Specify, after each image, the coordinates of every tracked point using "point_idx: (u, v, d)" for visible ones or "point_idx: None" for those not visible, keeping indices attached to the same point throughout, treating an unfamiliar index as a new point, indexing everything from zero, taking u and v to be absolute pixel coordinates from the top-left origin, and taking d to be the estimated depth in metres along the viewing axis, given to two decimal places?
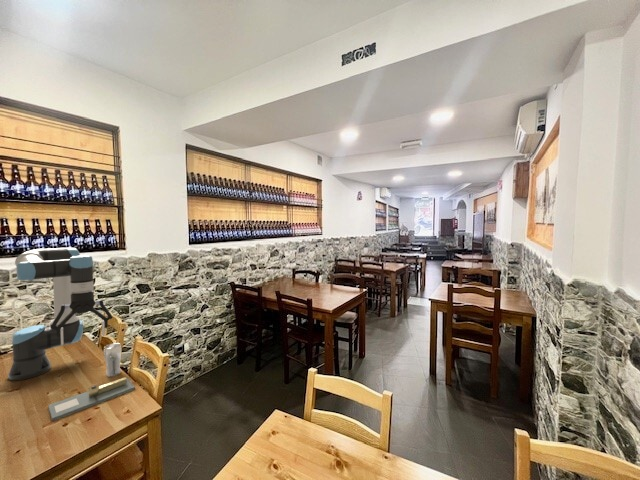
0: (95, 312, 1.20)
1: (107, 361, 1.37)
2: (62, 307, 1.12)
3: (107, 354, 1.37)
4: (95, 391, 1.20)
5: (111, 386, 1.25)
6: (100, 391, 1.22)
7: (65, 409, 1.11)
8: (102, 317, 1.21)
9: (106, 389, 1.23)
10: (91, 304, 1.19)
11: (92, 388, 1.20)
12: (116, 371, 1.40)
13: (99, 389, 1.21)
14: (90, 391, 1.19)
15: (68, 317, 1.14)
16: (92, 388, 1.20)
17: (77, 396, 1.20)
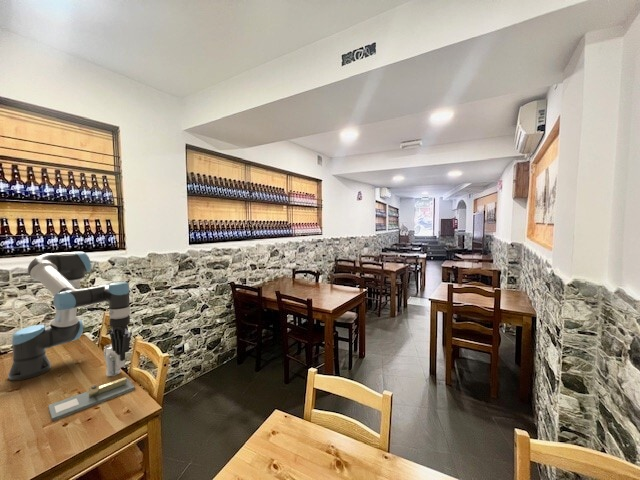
0: (119, 341, 1.22)
1: (107, 361, 1.37)
2: (109, 332, 1.24)
3: (107, 354, 1.37)
4: (95, 391, 1.20)
5: (111, 386, 1.25)
6: (100, 391, 1.22)
7: (65, 409, 1.11)
8: (119, 349, 1.22)
9: (106, 389, 1.23)
10: (121, 330, 1.21)
11: (92, 388, 1.20)
12: (116, 371, 1.40)
13: (99, 389, 1.21)
14: (90, 391, 1.19)
15: (115, 341, 1.23)
16: (92, 388, 1.20)
17: (77, 396, 1.20)
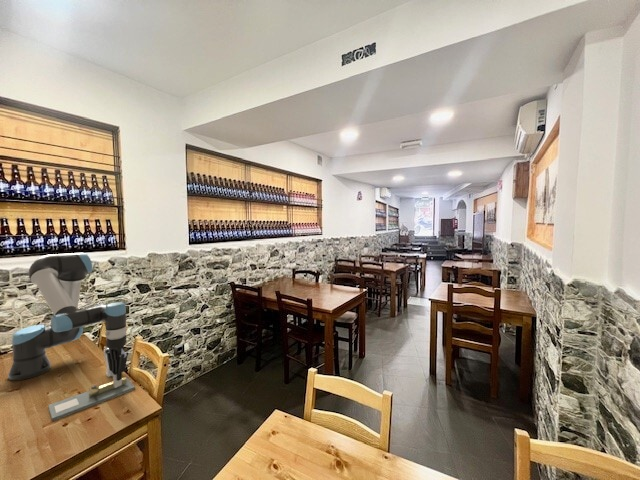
0: (115, 361, 1.24)
1: (107, 361, 1.37)
2: (106, 351, 1.26)
3: None
4: (95, 391, 1.20)
5: (111, 386, 1.25)
6: (100, 391, 1.22)
7: (65, 409, 1.11)
8: (116, 369, 1.24)
9: (106, 389, 1.23)
10: (117, 351, 1.23)
11: (92, 388, 1.20)
12: None
13: (99, 389, 1.21)
14: (90, 391, 1.19)
15: (112, 361, 1.25)
16: (92, 388, 1.20)
17: (77, 396, 1.20)
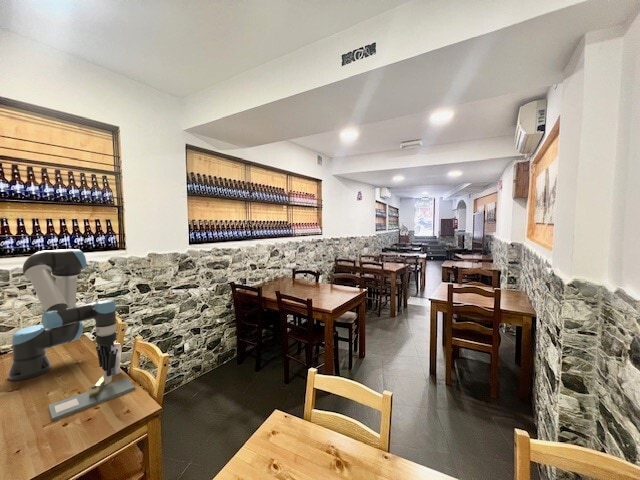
0: (105, 357, 1.26)
1: None
2: (96, 348, 1.29)
3: None
4: (98, 389, 1.21)
5: (103, 383, 1.27)
6: (99, 389, 1.23)
7: (65, 409, 1.11)
8: (105, 365, 1.26)
9: (101, 387, 1.25)
10: (107, 347, 1.26)
11: (95, 387, 1.20)
12: (116, 371, 1.40)
13: (98, 387, 1.23)
14: (95, 390, 1.20)
15: (102, 357, 1.27)
16: (95, 387, 1.20)
17: (77, 396, 1.20)
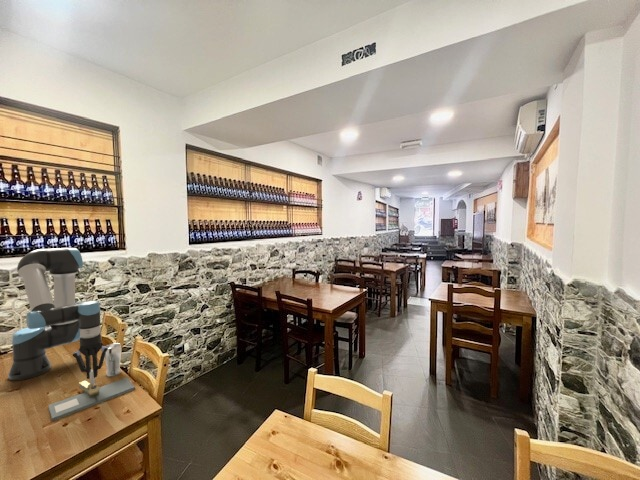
0: (94, 358, 1.25)
1: (107, 361, 1.37)
2: (74, 355, 1.22)
3: (107, 354, 1.37)
4: None
5: None
6: None
7: (65, 409, 1.11)
8: (94, 366, 1.25)
9: None
10: (97, 347, 1.26)
11: (96, 387, 1.21)
12: (116, 371, 1.40)
13: None
14: (98, 388, 1.21)
15: (87, 361, 1.24)
16: (96, 386, 1.21)
17: (77, 396, 1.20)
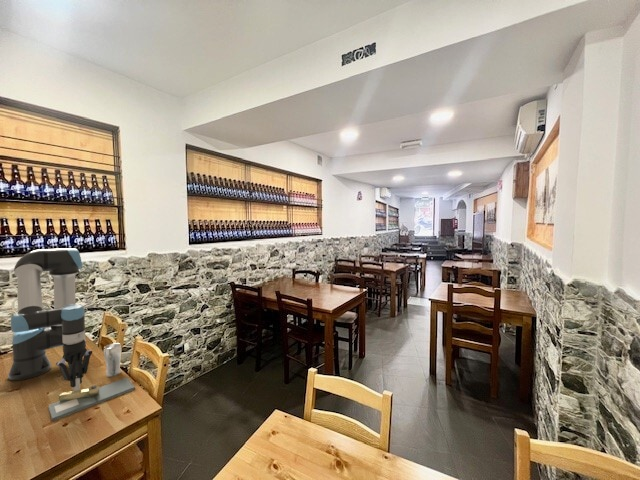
0: (80, 364, 1.21)
1: (107, 361, 1.37)
2: (61, 365, 1.14)
3: (107, 354, 1.37)
4: None
5: None
6: None
7: (65, 409, 1.11)
8: (80, 372, 1.21)
9: None
10: (83, 351, 1.22)
11: (96, 386, 1.21)
12: (116, 371, 1.40)
13: None
14: None
15: (73, 368, 1.18)
16: None
17: None
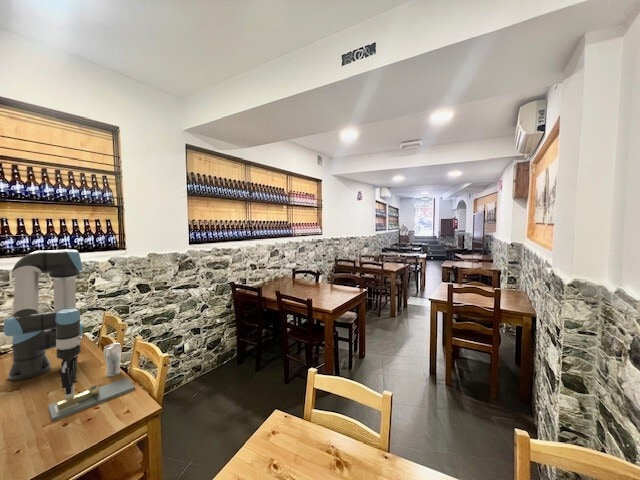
0: (73, 369, 1.17)
1: (107, 361, 1.37)
2: (67, 369, 1.10)
3: (107, 354, 1.37)
4: None
5: None
6: None
7: (65, 409, 1.11)
8: (74, 377, 1.17)
9: None
10: (74, 356, 1.18)
11: None
12: (116, 371, 1.40)
13: None
14: None
15: (71, 373, 1.14)
16: None
17: None
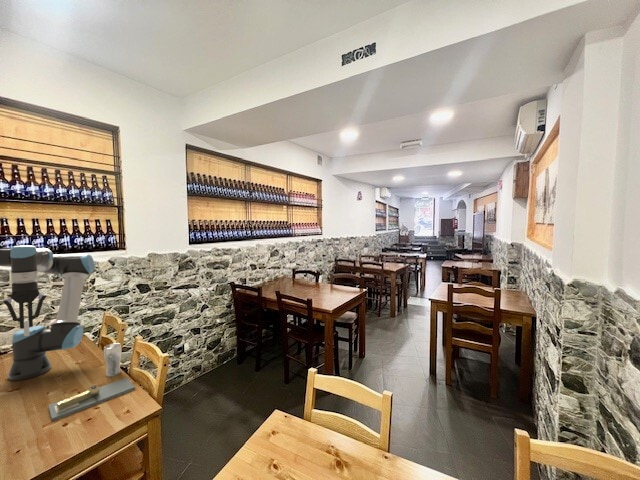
0: (30, 306, 1.17)
1: (107, 361, 1.37)
2: (5, 302, 1.11)
3: (107, 354, 1.37)
4: None
5: None
6: None
7: (65, 409, 1.11)
8: (30, 314, 1.17)
9: None
10: (34, 294, 1.18)
11: None
12: (116, 371, 1.40)
13: None
14: None
15: (21, 309, 1.15)
16: None
17: None
